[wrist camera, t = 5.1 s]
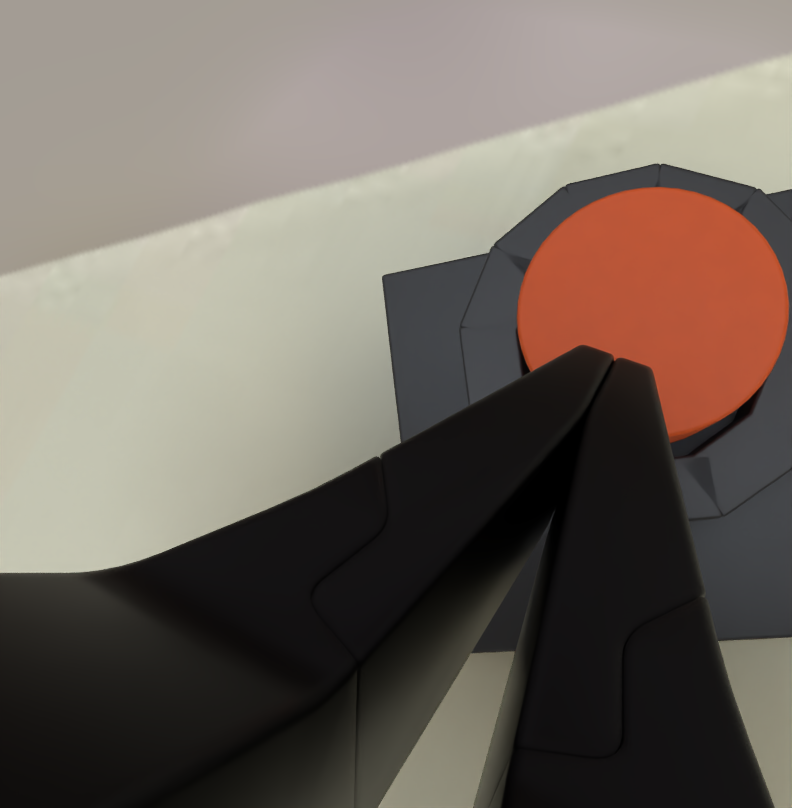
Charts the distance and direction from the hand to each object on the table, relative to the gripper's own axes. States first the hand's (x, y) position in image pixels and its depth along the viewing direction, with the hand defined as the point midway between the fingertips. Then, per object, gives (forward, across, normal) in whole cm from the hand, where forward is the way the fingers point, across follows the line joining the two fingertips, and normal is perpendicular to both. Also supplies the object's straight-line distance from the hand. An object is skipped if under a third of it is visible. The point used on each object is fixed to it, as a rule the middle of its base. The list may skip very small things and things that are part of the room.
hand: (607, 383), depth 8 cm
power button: (+5, 0, +3) cm, 6 cm away
